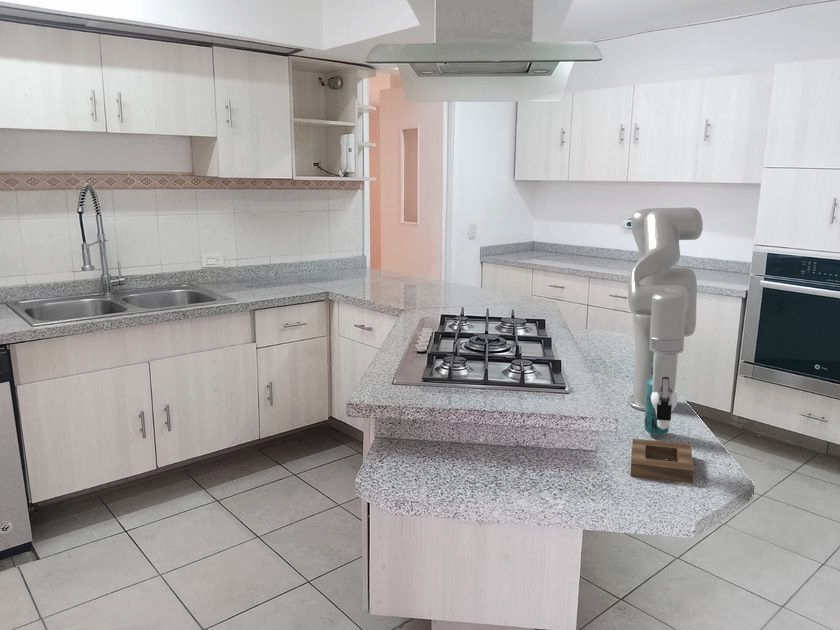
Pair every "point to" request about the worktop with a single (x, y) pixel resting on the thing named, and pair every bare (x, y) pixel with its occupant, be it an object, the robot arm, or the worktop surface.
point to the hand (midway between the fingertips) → (663, 413)
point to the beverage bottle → (651, 413)
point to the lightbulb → (654, 399)
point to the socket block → (659, 468)
